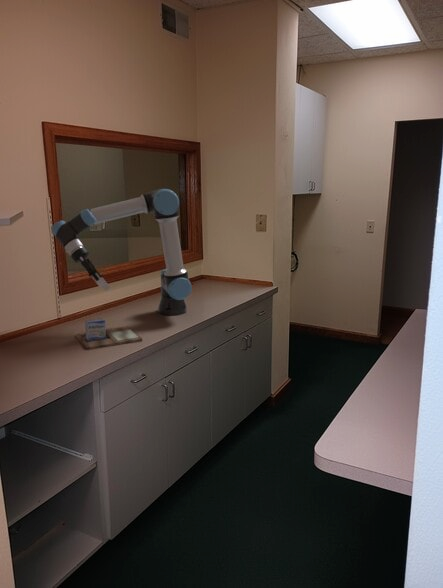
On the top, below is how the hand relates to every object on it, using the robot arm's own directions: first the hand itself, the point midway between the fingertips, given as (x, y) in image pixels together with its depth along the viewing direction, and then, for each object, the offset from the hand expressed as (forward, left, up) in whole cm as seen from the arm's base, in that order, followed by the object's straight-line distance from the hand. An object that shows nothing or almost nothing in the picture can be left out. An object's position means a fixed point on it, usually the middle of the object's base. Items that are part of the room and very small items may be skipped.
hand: (105, 288), depth 212 cm
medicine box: (+8, +8, -21) cm, 23 cm away
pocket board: (+3, +10, -21) cm, 23 cm away
